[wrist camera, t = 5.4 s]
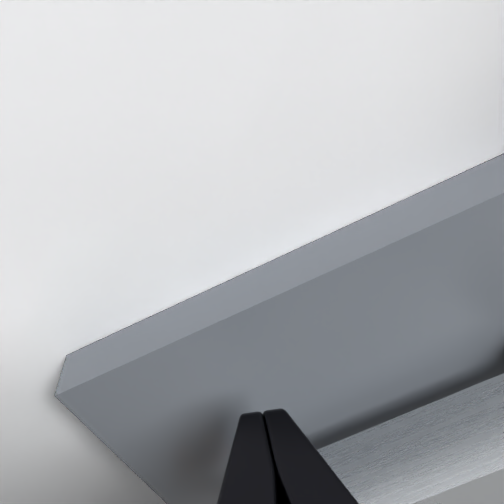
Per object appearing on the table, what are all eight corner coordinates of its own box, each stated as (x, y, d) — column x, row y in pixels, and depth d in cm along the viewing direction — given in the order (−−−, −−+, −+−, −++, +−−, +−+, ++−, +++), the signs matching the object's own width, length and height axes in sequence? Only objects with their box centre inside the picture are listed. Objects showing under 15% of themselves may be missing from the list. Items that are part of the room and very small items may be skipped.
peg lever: (690, 235, 9) (827, 302, 7) (678, 361, 11) (784, 441, 9) (135, 470, 11) (124, 582, 9) (213, 546, 13) (220, 650, 11)
